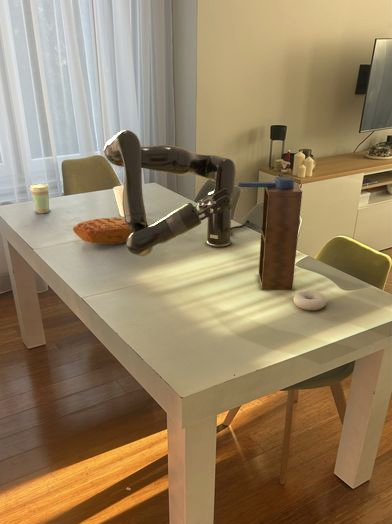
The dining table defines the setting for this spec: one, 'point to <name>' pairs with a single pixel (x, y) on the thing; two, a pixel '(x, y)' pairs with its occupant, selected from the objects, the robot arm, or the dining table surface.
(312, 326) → the dining table surface
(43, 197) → the coffee cup
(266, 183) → the blue elongated piece
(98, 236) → the cuneiform tablet
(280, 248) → the shelf
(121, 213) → the cup
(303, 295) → the donut
